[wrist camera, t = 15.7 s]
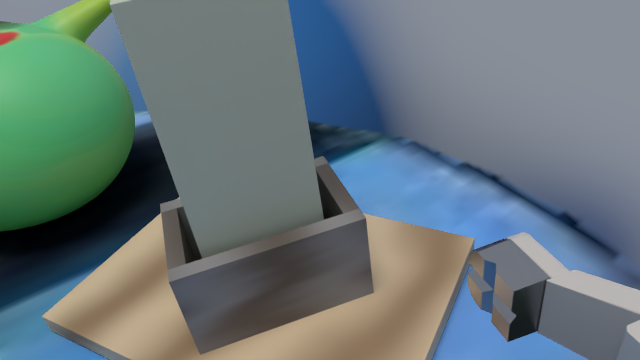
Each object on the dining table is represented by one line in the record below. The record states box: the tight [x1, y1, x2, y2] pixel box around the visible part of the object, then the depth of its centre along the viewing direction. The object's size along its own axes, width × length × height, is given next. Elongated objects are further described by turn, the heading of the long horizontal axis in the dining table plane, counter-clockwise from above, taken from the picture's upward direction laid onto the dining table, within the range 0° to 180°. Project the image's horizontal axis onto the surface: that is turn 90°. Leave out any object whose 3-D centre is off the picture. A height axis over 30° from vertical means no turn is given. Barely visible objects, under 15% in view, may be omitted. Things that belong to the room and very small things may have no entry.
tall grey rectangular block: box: [110, 0, 324, 259], centre depth 23 cm, size 6×4×16 cm
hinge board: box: [42, 156, 474, 360], centre depth 27 cm, size 20×14×6 cm
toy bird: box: [0, 0, 135, 231], centre depth 36 cm, size 18×17×15 cm
